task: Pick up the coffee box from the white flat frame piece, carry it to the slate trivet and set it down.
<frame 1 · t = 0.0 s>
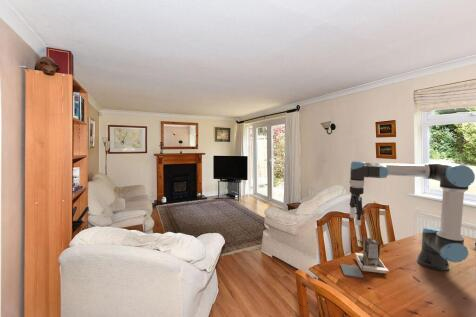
hand: (355, 221, 142), 28 cm above the table, fingers open, 13 cm apart
slate trivet: (351, 271, 137), on the table
white flat frame piece: (370, 266, 143), on the table
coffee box: (370, 266, 143), resting in white flat frame piece
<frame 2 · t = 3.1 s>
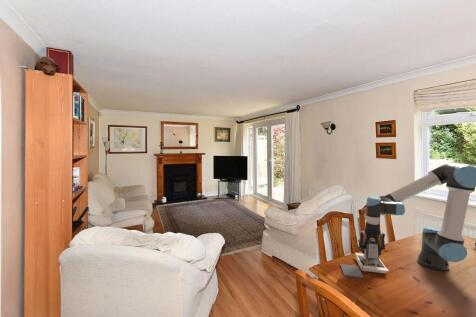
hand: (370, 259, 143), 4 cm above the table, fingers closed on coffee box, 6 cm apart
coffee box: (370, 266, 143), resting in white flat frame piece, touching gripper
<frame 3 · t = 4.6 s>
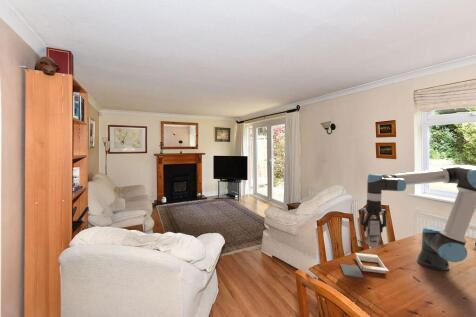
hand: (372, 236, 142), 19 cm above the table, fingers closed on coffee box, 6 cm apart
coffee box: (372, 244, 142), point 14 cm above the table, touching gripper
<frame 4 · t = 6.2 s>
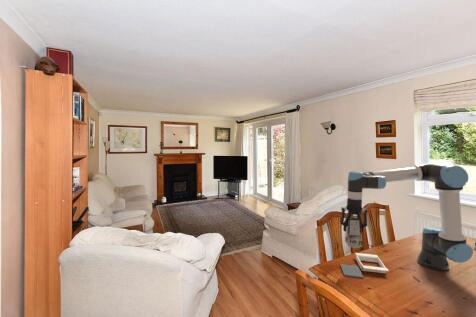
hand: (352, 237, 136), 21 cm above the table, fingers closed on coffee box, 6 cm apart
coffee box: (352, 244, 136), point 16 cm above the table, touching gripper
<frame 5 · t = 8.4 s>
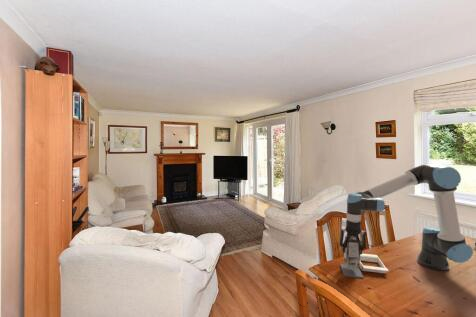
hand: (351, 258, 137), 8 cm above the table, fingers closed on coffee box, 6 cm apart
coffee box: (351, 266, 137), point 3 cm above the table, touching gripper
when the fingers open (7 cm above the table, at t = 9.5 s): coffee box drops 1 cm, resting on slate trivet.
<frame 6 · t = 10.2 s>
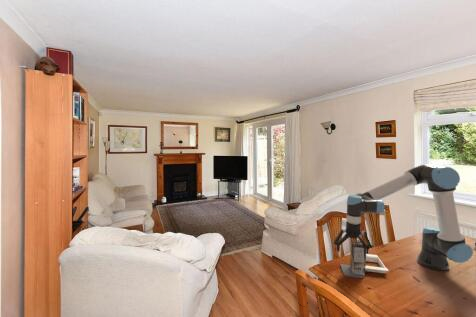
hand: (351, 257, 137), 8 cm above the table, fingers open, 13 cm apart
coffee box: (357, 271, 137), point 1 cm above the table, touching gripper, slate trivet
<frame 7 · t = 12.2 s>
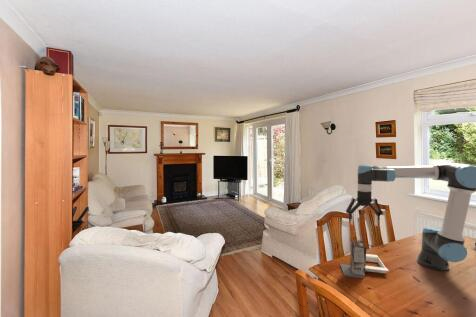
hand: (363, 224, 143), 26 cm above the table, fingers open, 13 cm apart
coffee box: (357, 271, 137), point 1 cm above the table, touching slate trivet
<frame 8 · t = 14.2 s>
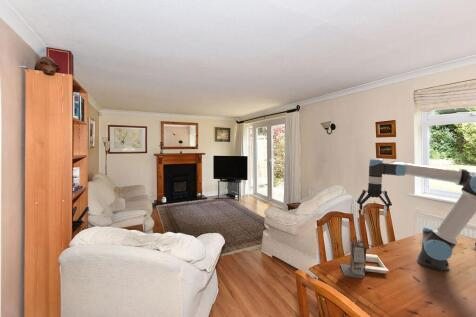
hand: (373, 215, 152), 29 cm above the table, fingers open, 13 cm apart
nothing on the table moved.
at the end: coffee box inside the target area on the slate trivet (3.3 cm from its centre), point 0.6 cm above the slate trivet's base; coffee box tilted 0°; the gripper is holding nothing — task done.
